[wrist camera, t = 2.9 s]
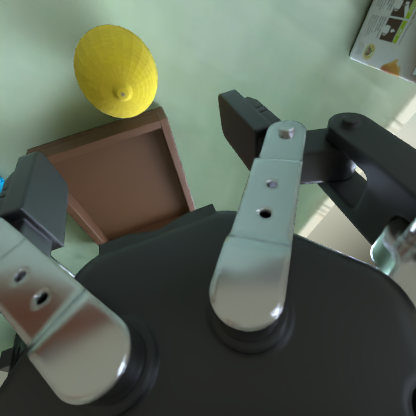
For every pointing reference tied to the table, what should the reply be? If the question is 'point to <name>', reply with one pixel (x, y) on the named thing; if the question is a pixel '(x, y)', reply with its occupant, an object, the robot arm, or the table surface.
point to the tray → (122, 176)
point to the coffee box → (389, 38)
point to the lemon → (115, 71)
